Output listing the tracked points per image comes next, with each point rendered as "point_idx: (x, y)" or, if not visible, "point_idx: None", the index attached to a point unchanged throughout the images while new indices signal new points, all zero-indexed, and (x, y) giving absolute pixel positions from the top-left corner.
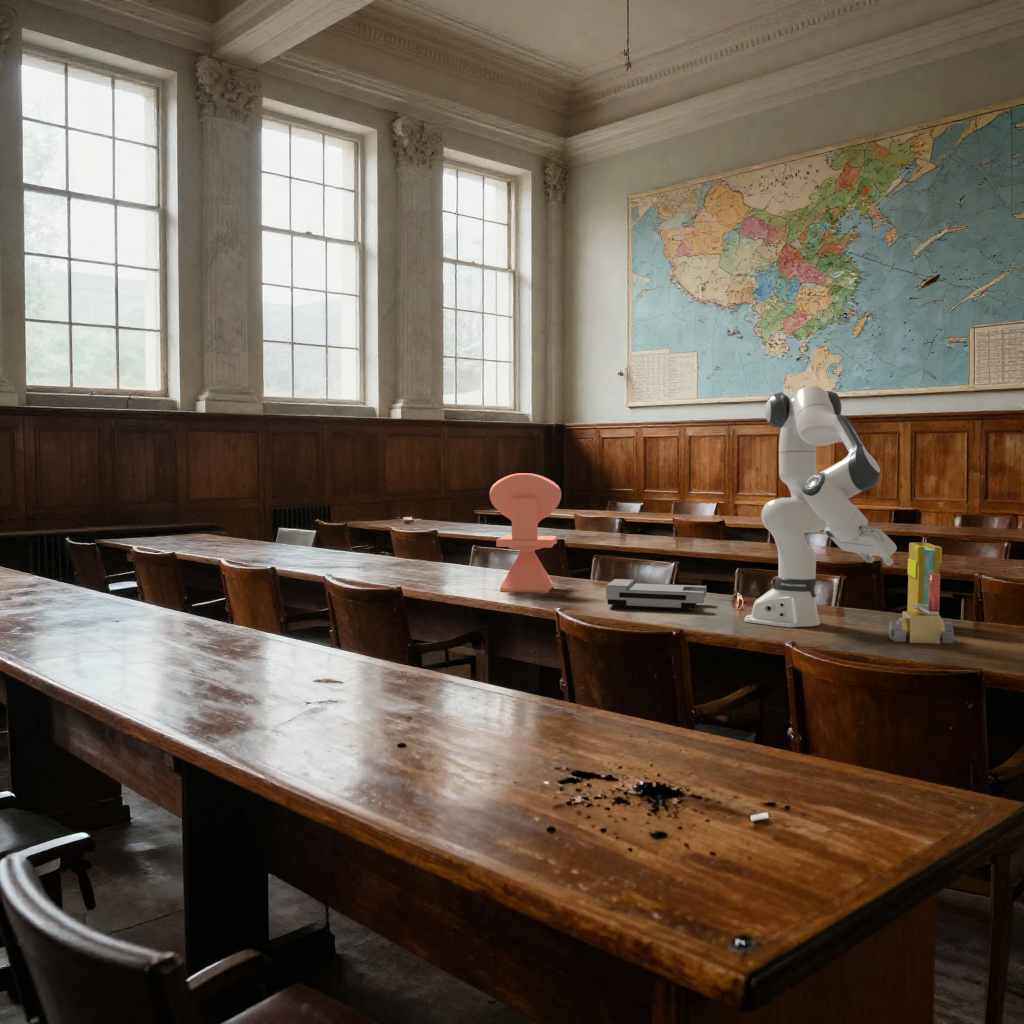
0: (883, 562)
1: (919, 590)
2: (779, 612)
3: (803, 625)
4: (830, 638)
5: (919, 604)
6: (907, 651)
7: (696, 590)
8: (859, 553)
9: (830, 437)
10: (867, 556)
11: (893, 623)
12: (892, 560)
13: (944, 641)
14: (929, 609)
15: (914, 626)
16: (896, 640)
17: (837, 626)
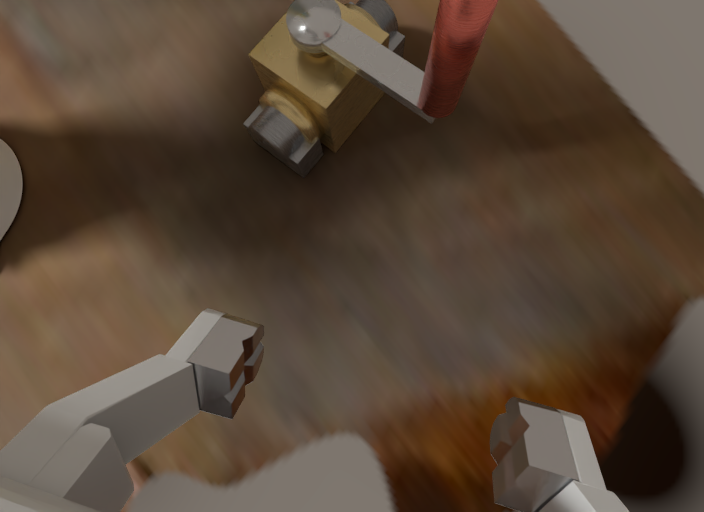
0: (496, 484)
1: None
2: None
3: (4, 228)
4: (169, 304)
5: (311, 26)
6: (419, 268)
7: None
8: (118, 501)
9: None
10: (194, 388)
11: (277, 144)
12: (585, 434)
13: None
14: (433, 113)
15: (338, 118)
16: (306, 172)
17: (61, 127)
